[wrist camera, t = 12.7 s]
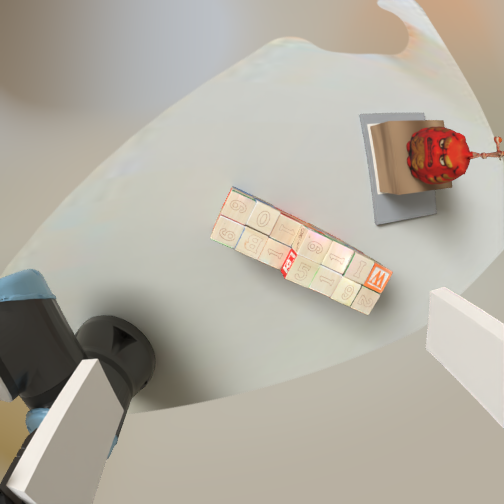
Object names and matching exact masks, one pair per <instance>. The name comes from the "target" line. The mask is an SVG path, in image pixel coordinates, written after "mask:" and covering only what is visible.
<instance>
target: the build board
mask: <svg viewBox="0 0 504 504" xmlns="http://www.w3.org/2000/svg"><path fill="white" fill-rule="evenodd" d="M359 116H360V121H361V126H362V131H363V137H364V143H365V149H366V155H367V161H368V168H369V175H370V182H371V190H372V198H373V207H374V217H375V224H377V225H379V224H384V223H389V222H394V221H400V220H405V219H410V218H416V217H421V216H426V215H432V214H437V213H436V197H435V190H430V191H423V192H416V193H409V194H402V195H397V194H391V193H385V192H380V189H379V181H378V173H377V166H376V159H375V153H374V147H373V141H372V135H371V130H370V126H373V125H377V124H380V123H384V122H387V121H409V120H425V116H424V113H374V114H360V115H359Z"/></svg>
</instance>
